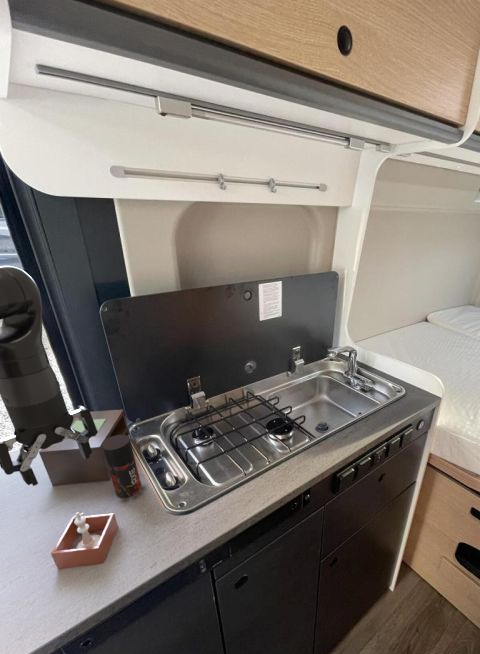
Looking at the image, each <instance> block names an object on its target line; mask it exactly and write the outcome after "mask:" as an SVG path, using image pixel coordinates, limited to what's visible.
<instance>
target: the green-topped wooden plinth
mask: <svg viewBox="0 0 480 654" xmlns="http://www.w3.org/2000/svg"><path fill="white" fill-rule="evenodd" d="M90 413H91V416H92V418H93V421H94V423H95V426H96V429H97V431H98V433H97V434H96V435H95V436H92V437H90V439H89V444H90V447H91V450H92V453H91V454H90V455H89V456H90V458H88V459H84V458H83V457H82V455H81V453H80V450H79V447H78V444H77V440H73V439H70V438H68V437H65V438H64V439H63V441H62V442H60V443H56V444H53V445H51V446H50V447H48V448H46V449H44V450H43V449H40V450H39V452H38V454H39V457H40V458H41V461H42V463H43V467H44V468H45V472H46V473H47V476H48V479H49V481H50V483H51V485H52V486H62V485H73V484H84V483H93V482H94V483H95V482H105V481H110V480H112V478H111V475H110V472H109V468H108V465H107V462H106V458H105V455H104V452H103V448H102V443H103V442H104V441H105V440H106V439H108V438H110V437H112V436H115V435H127V436H128V435H129V434H130V431H129V427H128V422H127V418H126V414H125V409H113V410H112V409H109V410H94V411H90ZM70 428H72V429H74V430H76V431H79V432H83V431H84V430H85V428H84V425H83V423H82V421H79V420H78V419H77V418H74V420H73V423H72V425H71V427H70Z"/></svg>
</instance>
